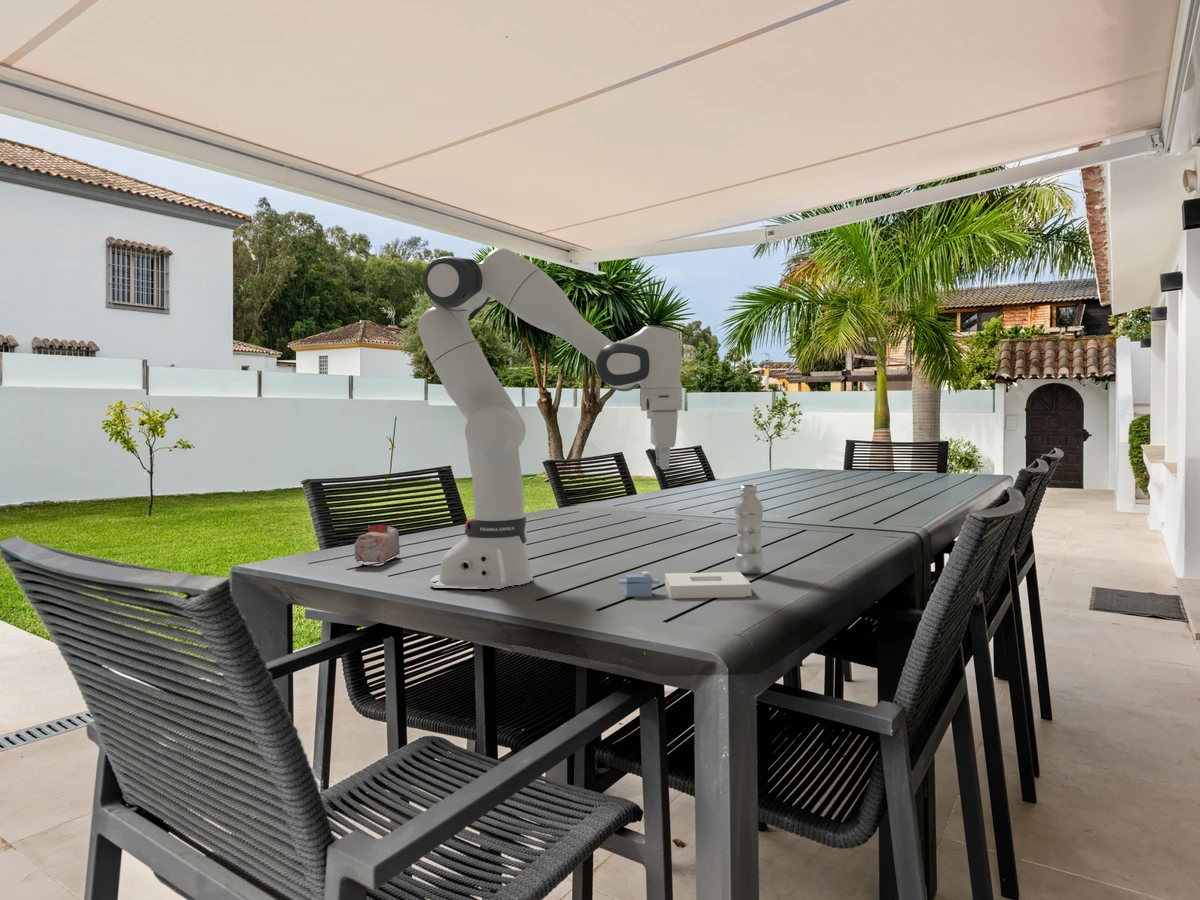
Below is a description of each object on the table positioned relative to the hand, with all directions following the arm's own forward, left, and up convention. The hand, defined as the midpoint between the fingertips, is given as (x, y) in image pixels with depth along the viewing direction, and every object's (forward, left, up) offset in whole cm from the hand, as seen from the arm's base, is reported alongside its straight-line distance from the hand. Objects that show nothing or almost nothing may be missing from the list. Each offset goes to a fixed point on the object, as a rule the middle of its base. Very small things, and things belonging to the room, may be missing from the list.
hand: (662, 467), depth 161 cm
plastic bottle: (+20, +9, -25) cm, 33 cm away
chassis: (+8, -7, -25) cm, 27 cm away
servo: (-6, -9, -25) cm, 27 cm away
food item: (-71, +32, -25) cm, 82 cm away
